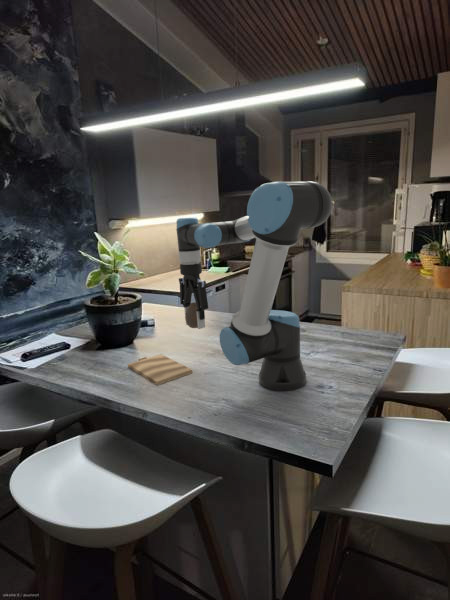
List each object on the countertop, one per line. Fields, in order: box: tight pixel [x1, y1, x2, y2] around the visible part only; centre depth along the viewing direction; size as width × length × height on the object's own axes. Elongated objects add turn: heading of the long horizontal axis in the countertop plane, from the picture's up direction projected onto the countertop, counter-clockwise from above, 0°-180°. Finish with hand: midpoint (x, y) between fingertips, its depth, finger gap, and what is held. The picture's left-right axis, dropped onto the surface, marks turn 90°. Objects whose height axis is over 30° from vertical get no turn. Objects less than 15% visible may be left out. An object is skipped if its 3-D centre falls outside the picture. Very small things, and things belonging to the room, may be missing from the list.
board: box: [127, 353, 193, 386], centre depth 148 cm, size 24×14×1 cm, turn 38°
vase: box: [184, 301, 198, 329], centre depth 146 cm, size 7×7×9 cm
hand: (195, 325), depth 147 cm, fingers closed on vase, 7 cm apart
